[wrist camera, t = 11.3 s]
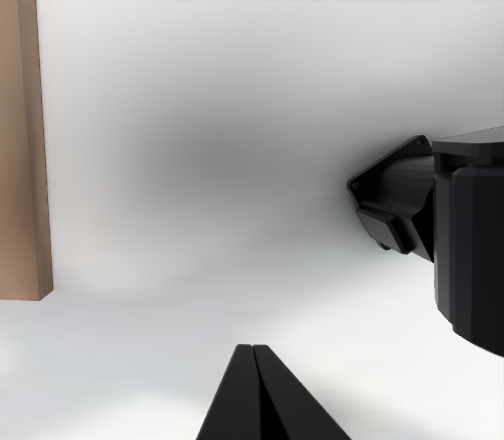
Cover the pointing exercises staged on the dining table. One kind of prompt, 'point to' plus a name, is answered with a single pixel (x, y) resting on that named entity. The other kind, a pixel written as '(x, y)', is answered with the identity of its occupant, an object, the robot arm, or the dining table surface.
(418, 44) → the dining table surface
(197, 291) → the dining table surface
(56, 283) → the dining table surface
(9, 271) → the wooden block stand
